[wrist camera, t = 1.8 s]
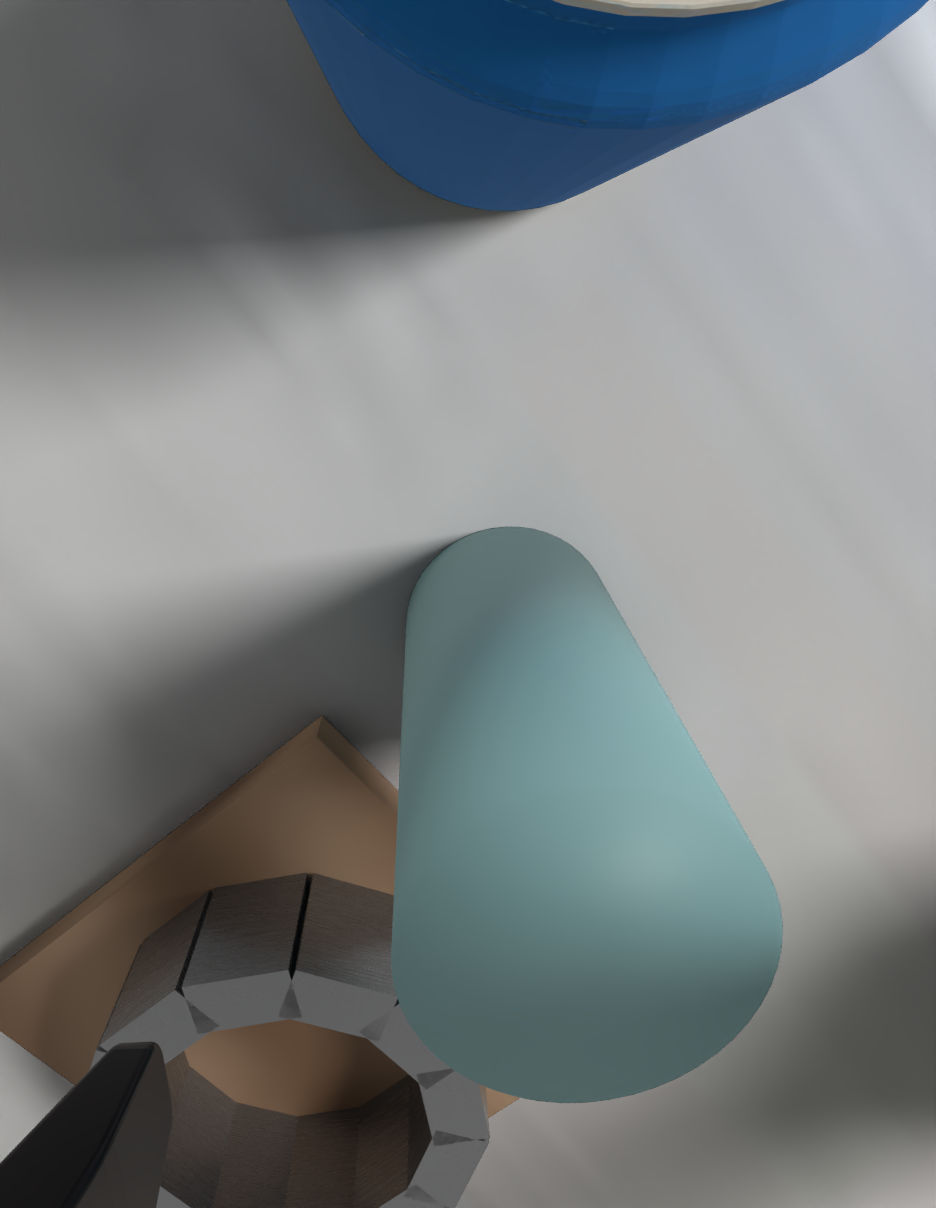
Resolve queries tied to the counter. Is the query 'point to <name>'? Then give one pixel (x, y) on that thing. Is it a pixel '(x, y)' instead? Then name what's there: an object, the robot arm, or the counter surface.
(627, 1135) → the counter surface
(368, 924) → the collar
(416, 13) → the beverage can
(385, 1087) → the base board
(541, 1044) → the peg
